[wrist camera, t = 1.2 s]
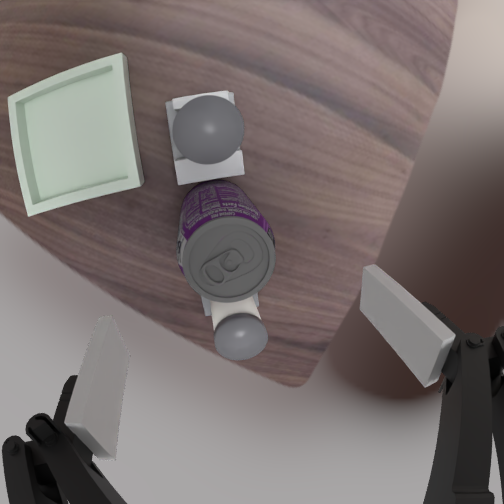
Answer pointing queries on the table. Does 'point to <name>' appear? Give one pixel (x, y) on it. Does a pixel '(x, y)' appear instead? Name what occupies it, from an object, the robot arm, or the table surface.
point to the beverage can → (224, 243)
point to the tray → (76, 135)
